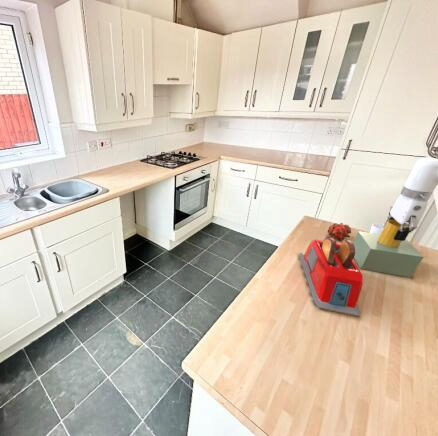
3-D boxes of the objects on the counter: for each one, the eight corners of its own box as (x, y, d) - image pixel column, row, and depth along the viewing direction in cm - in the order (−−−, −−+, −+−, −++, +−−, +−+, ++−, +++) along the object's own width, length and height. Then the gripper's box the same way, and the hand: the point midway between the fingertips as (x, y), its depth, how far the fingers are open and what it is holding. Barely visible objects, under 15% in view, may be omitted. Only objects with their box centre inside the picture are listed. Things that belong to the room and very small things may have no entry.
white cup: (369, 248, 111) (378, 230, 106) (360, 239, 118) (368, 221, 113) (389, 251, 109) (400, 232, 105) (379, 241, 116) (388, 223, 111)
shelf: (393, 256, 106) (404, 237, 101) (410, 277, 94) (423, 257, 90) (349, 249, 111) (358, 231, 106) (360, 268, 99) (370, 248, 95)
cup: (394, 240, 99) (404, 221, 95) (402, 248, 94) (413, 229, 90) (374, 237, 102) (384, 218, 97) (381, 245, 96) (392, 226, 92)
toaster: (361, 318, 78) (387, 274, 69) (316, 308, 82) (335, 265, 73) (331, 259, 105) (347, 222, 96) (298, 254, 109) (310, 217, 100)
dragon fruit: (345, 238, 122) (328, 246, 119) (334, 224, 125) (317, 231, 122) (360, 232, 114) (342, 241, 111) (348, 217, 117) (330, 225, 114)
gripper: (445, 204, 79) (417, 248, 87) (415, 186, 93) (394, 225, 102) (415, 201, 82) (391, 244, 90) (391, 184, 96) (372, 222, 104)
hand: (393, 234), depth 96 cm, fingers open, 8 cm apart
